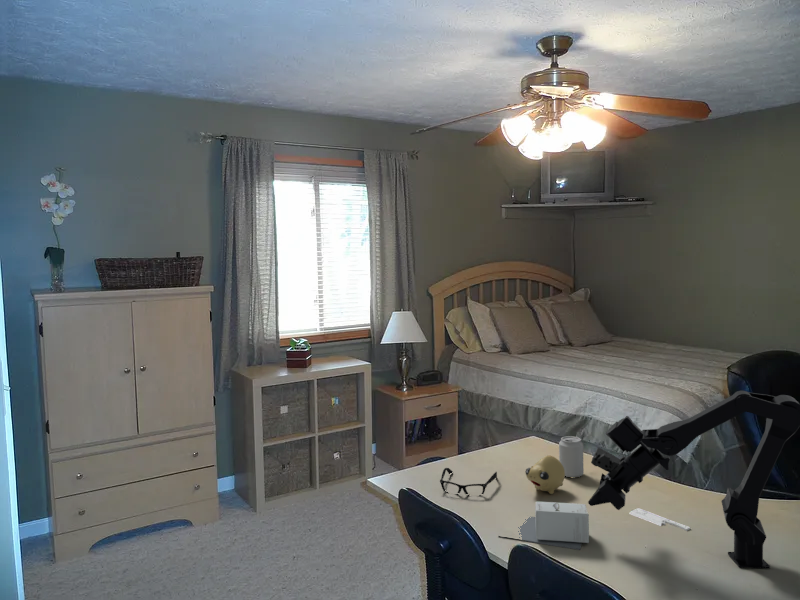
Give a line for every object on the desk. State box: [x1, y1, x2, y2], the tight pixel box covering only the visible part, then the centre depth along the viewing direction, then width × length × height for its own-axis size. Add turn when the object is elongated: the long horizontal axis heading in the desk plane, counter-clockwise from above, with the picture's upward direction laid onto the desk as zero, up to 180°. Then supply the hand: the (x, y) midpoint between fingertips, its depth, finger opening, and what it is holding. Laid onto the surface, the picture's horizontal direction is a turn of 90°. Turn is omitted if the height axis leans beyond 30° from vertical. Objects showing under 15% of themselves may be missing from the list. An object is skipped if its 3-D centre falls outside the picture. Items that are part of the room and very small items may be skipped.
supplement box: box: [534, 501, 590, 544], centre depth 150 cm, size 7×7×13 cm
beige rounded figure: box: [525, 454, 566, 495], centre depth 180 cm, size 10×12×11 cm
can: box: [558, 435, 585, 478], centre depth 192 cm, size 8×8×12 cm
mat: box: [518, 516, 583, 551], centre depth 154 cm, size 20×14×1 cm
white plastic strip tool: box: [628, 507, 691, 532], centre depth 158 cm, size 5×15×1 cm, turn 33°
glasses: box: [439, 467, 498, 495], centre depth 187 cm, size 17×18×5 cm
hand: (589, 503), depth 149 cm, fingers closed
